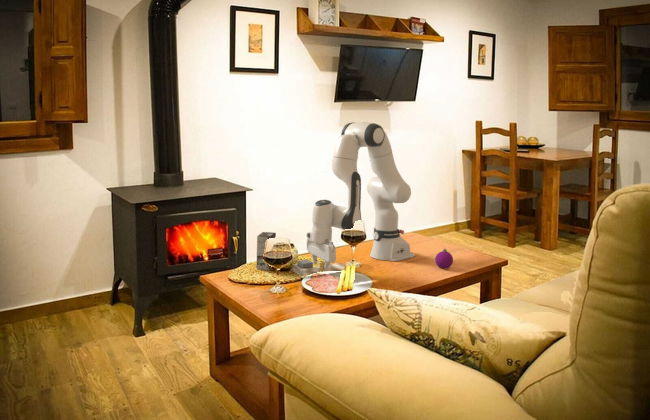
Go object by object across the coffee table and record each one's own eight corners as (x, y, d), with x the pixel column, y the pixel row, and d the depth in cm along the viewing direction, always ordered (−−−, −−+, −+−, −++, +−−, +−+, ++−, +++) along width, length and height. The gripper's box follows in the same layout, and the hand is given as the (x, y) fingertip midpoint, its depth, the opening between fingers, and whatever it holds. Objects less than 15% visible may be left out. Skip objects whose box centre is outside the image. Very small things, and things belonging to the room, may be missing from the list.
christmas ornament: (446, 272, 278) (448, 251, 276) (431, 267, 283) (432, 247, 281) (455, 268, 284) (457, 247, 282) (440, 264, 289) (442, 244, 287)
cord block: (320, 268, 273) (320, 257, 272) (325, 271, 268) (326, 260, 267) (297, 271, 267) (297, 260, 266) (302, 274, 263) (302, 263, 262)
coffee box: (269, 272, 267) (270, 237, 264) (256, 271, 269) (256, 236, 265) (275, 266, 276) (276, 232, 273) (262, 265, 277) (262, 231, 274)
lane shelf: (339, 264, 283) (339, 256, 282) (354, 272, 272) (355, 264, 271) (289, 271, 270) (290, 263, 269) (303, 280, 259) (304, 271, 258)
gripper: (340, 241, 260) (338, 272, 262) (316, 231, 277) (315, 260, 280) (327, 243, 256) (326, 274, 259) (304, 232, 274) (303, 261, 276)
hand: (320, 267), depth 270 cm, fingers open, 8 cm apart
